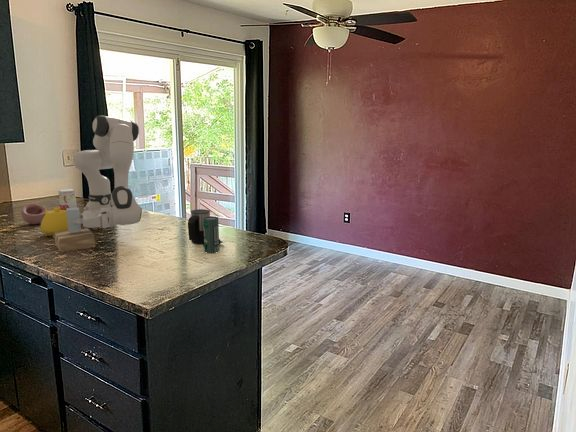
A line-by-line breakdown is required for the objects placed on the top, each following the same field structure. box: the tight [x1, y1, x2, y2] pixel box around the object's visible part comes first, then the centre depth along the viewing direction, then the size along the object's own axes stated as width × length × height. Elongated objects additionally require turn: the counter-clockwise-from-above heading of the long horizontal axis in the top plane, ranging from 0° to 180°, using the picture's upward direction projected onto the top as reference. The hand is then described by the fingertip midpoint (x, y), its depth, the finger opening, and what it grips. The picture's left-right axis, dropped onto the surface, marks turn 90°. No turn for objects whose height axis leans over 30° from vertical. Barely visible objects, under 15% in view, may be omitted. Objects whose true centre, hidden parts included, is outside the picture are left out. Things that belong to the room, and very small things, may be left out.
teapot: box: [40, 206, 69, 239], centre depth 214 cm, size 20×16×14 cm
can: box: [203, 215, 220, 254], centre depth 189 cm, size 6×6×15 cm
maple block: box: [54, 227, 96, 253], centre depth 196 cm, size 14×14×6 cm
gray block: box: [66, 206, 82, 232], centre depth 195 cm, size 5×5×10 cm
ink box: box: [58, 188, 78, 210], centre depth 274 cm, size 9×5×12 cm, turn 138°
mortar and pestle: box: [20, 203, 47, 225], centre depth 234 cm, size 12×12×11 cm
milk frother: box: [187, 208, 224, 246], centre depth 201 cm, size 14×16×15 cm
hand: (71, 219), depth 194 cm, fingers closed on gray block, 5 cm apart
